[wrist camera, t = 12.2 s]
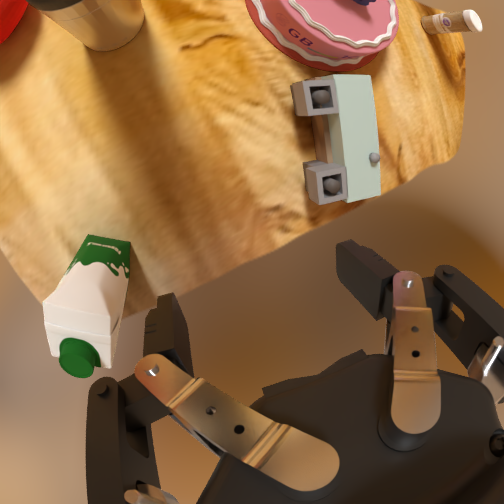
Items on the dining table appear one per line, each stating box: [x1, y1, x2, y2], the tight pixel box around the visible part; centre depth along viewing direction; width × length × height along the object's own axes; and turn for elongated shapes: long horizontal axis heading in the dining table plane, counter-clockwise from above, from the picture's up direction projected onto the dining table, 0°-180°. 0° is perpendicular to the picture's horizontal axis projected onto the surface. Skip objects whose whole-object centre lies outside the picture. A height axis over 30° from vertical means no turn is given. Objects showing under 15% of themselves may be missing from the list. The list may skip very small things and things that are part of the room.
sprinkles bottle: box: [421, 10, 482, 35], centre depth 26 cm, size 5×5×13 cm
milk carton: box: [42, 234, 130, 378], centre depth 30 cm, size 9×9×20 cm
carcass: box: [290, 77, 341, 193], centre depth 36 cm, size 18×10×7 cm, turn 11°
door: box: [292, 74, 381, 205], centre depth 34 cm, size 18×11×4 cm, turn 11°
